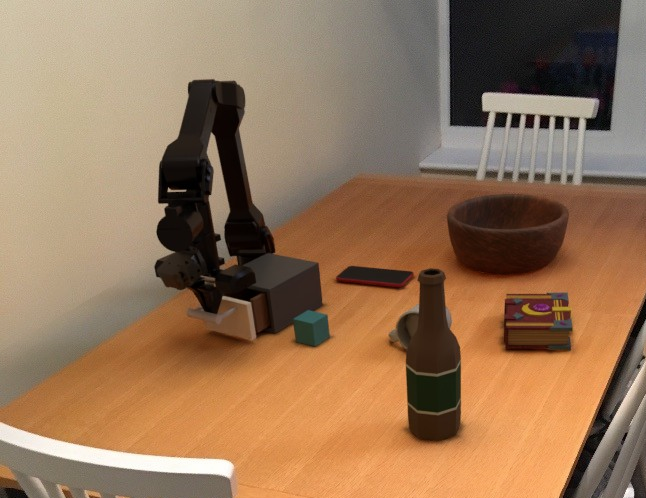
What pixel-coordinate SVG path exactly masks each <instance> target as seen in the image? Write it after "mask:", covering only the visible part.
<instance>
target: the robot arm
mask: <svg viewBox="0 0 646 498" xmlns="http://www.w3.org/2000/svg"><path fill="white" fill-rule="evenodd" d="M245 109H246V93H245V89H244V88H243V86H241V85H240V84H238V82H237V81H236V80H216V79H215V78H205V79H204V78H203V79H192V80H191V81H188V83H187V100H186V104H185V108H184V112H183V115H182V121H181V124H180V128H179V132H178V135H177V138H176V139H174V140H173V141H171V142H170V143H169V144H168V145H166V148H165V149H164V152H163V155H162V157H161V160H160V161H159V164H158V186H157V203H158V205H163V204H164V205H165V204H167V205H166V206H164V208H163V210H164V215H163V217H161V218H160V220H158V223H157V225H156V231H155V233H156V237H157V240H158V242H159V243H160V244H161V245H162V246H163V248H165V249H166V250H168V251H170V252H171V253H170V254H167V255H165V256H163V257H160V258H158V259H156V261H155V263H154V266H153V268H154V273H155V277H156V278H160V279H161V281H162V283H163V286H164V287H165V288H168V289H169V288H172V289H176V290H177V291H184V290H186V289H188V291H191V292H192V293H193V295H194V296H195V298H196V299H197V301H198V302H199V305H200V306H202V308H203V310H204V311H205V312H209V313H213V314H218V310H219V307H220V303H221V300H222V297H223V294H224V292H225V293H230V294H235V293H238V292H240V291H242V290H244V289H246V288H247V287H249V286H251V285H253V284H255V283H256V277H255V271H254V270H253V269H251V268H250V267H246V266H242V265H244V264H246V263H248V262H250V261H253V260H255V259H257V258H259V257H261V256H263V255H265V254H267V253H271V254H276V252H277V251H276V245H275V244H276V243H275V238H274V236H273V234H272V232H271V231H270V229H269V227H268V225H266V221H265V217H264V214H263V213H262V212H261V211H260V209H259V208H258V207H257V206H256V204H254V202H253V197H252V191H251V188H250V187H251V186H250V182H249V176H248V170H247V165H246V160H245V155H244V149H243V144H242V137H241V133H240V127H241V125H242V123H243V122H242V121H243V119H244V116H245V113H246V112H245V111H246V110H245ZM211 135H213V136H214V140H215V145H216V150H217V154H218V155H217V156H218V159H219V164H220V168H221V169H220V170H221V173H222V178H223V183H224V189H225V193H226V198H227V202H228V207H229V213H228V215H227V218H226V220H225V223H224V226H223V229H224V231H223V235H224V236H223V237H224V242H225V246H226V249H227V252H228V255H229V257H230V258H231V257H232V258H233V257H236V261H237V264H233V265H231V266H229V267H227V268H223V267H221V266H223V265H225V264H226V261H225V257H222V256H219V251H218V245H217V243H218V242H220V241H221V240H222V238H221V233H216V232H215V228H214V221H213V215H212V209H211V203H210V199H209V198H210V196H212V194H213V193H212V192H213V183H214V174H215V171H214V167H213V166H212V163H211V161H210V157H209V155H208V148H209V143H210V139H211ZM169 190H170V191H169Z"/></svg>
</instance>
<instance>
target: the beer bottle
mask: <svg viewBox="0 0 646 498" xmlns="http://www.w3.org/2000/svg"><path fill="white" fill-rule="evenodd" d="M446 279H447V276H446V273H445V271H443V270H442V269H440V268H433V267H431V268H425V269H422V270H420V272H419V273H418V276H417V280H416V281H417V282H418V283H419V297H418V304H419V320H418V326H417V331H416V332H415V334H414V335H413V337H412V338H411V340H410V342H409V345H408V348H407V350H406V351H405V377H406V379H405V380H406V400H407V401H406V402H407V403H406V404H407V405H406V406H407V421H408V429H409V430H410V432H411V433H412V434H414V436H416V437H417V438H418V439H419V440H424V441H425V440H426V441H432V442H440V441H443V440H446V439H450V438H452V437H455V436H456V434H457V432H458V430H459V428H460V425H461V417H462V355H461V353H462V352H461V346H460V344H459V341H458V339H457V337H456V335H455V334H454V332H453V331H452V330H451V328H450V329H449V327H448V322H447V317H446V307H447V305H446V295H445V281H446Z"/></svg>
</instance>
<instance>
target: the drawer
mask: <svg viewBox="0 0 646 498" xmlns="http://www.w3.org/2000/svg"><path fill="white" fill-rule="evenodd" d="M185 313H186V316H187V317H188V318H192V319H196V320H199V321H204V327H205V329H208V330H211V331H214V332H219V333H223V334H227V335H231V336H234V337H238V338H242V339H246V340H250V341H254V340H256V339H257V333H260V332H262V331H263V329H265V328H267V327H269V326H270V325H271V321H270V314H269V307H268V300H267V293H266V292H262V291H257V290H253V289H248V288H246V289H244V290H242V291H240V292H238V293H235V294H230V293H225V292H224V294H223V297H222V300H221V303H220V307H219V310H218V314H213V313H209V312H205V311H204V310H203V308H202V306H201V305H199V306H197V307H195V308H193V307H188V308H187V310H186V312H185Z"/></svg>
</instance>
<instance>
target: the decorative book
mask: <svg viewBox="0 0 646 498" xmlns="http://www.w3.org/2000/svg"><path fill="white" fill-rule="evenodd" d="M569 302H570V301H569V293H568V292H567V291H566V292H546V293H506V297H505V298H504V309H503V310H504V311H503V312H504V313H503V343H505V347H504V348H505V349H524V350H525V349H527V350H529V349H532V350H533V349H534V350H535V349H537V350H538V349H539V350H541V349H542V350H543V349H544V350H546V349H547V350H548V351H571V350H572V342H571V341H572V340H571V337H570V332H571V333H572V332H573V329H574V327H573V320H572V318H571V316H572V307H571V306H569V304H570V303H569Z"/></svg>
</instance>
